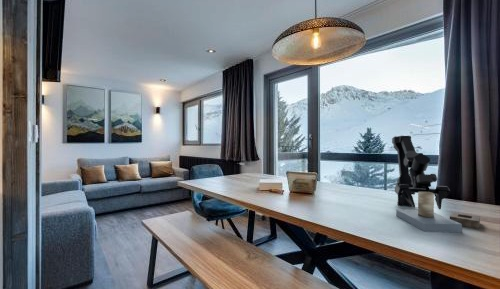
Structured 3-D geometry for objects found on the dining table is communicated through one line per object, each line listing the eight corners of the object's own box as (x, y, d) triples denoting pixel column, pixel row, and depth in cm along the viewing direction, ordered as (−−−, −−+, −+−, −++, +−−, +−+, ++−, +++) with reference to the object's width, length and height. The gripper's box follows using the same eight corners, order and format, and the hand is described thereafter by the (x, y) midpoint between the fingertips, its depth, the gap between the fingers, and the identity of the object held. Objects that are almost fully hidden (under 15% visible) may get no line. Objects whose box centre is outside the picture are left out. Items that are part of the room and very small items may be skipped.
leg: (415, 222, 105) (415, 192, 105) (421, 219, 108) (421, 190, 108) (430, 226, 101) (430, 194, 100) (436, 223, 104) (436, 192, 104)
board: (396, 215, 115) (396, 209, 115) (427, 215, 114) (427, 209, 114) (424, 231, 95) (424, 223, 95) (461, 231, 94) (461, 224, 94)
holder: (449, 223, 104) (449, 216, 104) (452, 218, 110) (452, 211, 110) (478, 228, 97) (478, 221, 97) (479, 223, 104) (479, 216, 103)
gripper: (398, 166, 111) (405, 196, 100) (448, 167, 105) (461, 199, 95) (394, 181, 118) (400, 210, 108) (440, 182, 112) (451, 213, 102)
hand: (427, 208), depth 103 cm, fingers open, 9 cm apart
